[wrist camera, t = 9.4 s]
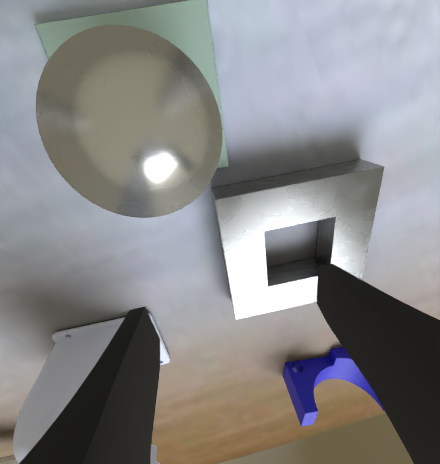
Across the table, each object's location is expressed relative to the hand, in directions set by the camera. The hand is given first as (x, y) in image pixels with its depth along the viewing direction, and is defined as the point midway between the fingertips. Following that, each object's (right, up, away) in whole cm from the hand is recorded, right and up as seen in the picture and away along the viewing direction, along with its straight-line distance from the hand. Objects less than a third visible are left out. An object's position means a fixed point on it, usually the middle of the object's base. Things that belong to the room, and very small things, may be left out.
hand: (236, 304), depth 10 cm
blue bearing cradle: (+14, -14, +22) cm, 30 cm away
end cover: (-4, +10, +5) cm, 12 cm away
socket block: (+5, +2, +11) cm, 13 cm away
